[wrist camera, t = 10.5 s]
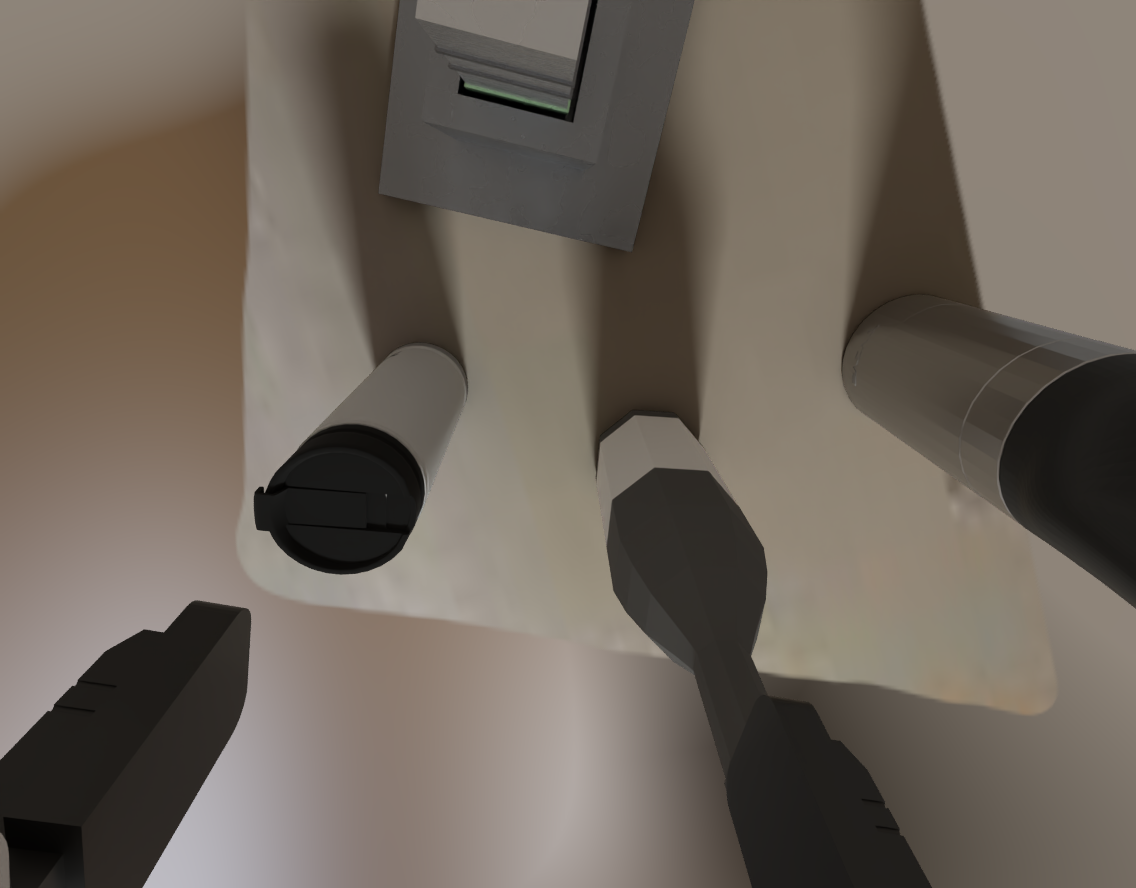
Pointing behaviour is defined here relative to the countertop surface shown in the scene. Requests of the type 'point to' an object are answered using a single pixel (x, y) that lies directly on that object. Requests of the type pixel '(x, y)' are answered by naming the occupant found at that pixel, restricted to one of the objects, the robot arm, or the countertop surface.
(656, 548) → the wine bottle
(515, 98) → the block
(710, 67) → the countertop surface
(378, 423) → the travel mug
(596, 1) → the stepped pedestal base
